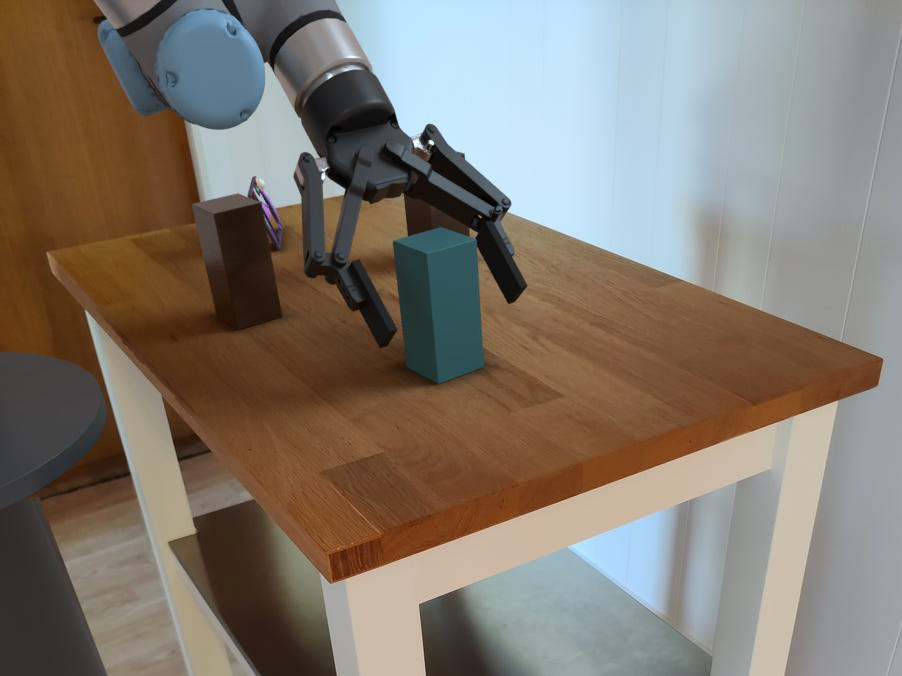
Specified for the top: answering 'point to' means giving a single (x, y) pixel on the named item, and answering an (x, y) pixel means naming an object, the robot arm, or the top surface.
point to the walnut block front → (238, 260)
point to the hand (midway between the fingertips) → (455, 316)
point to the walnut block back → (429, 215)
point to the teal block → (439, 303)
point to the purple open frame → (266, 211)
